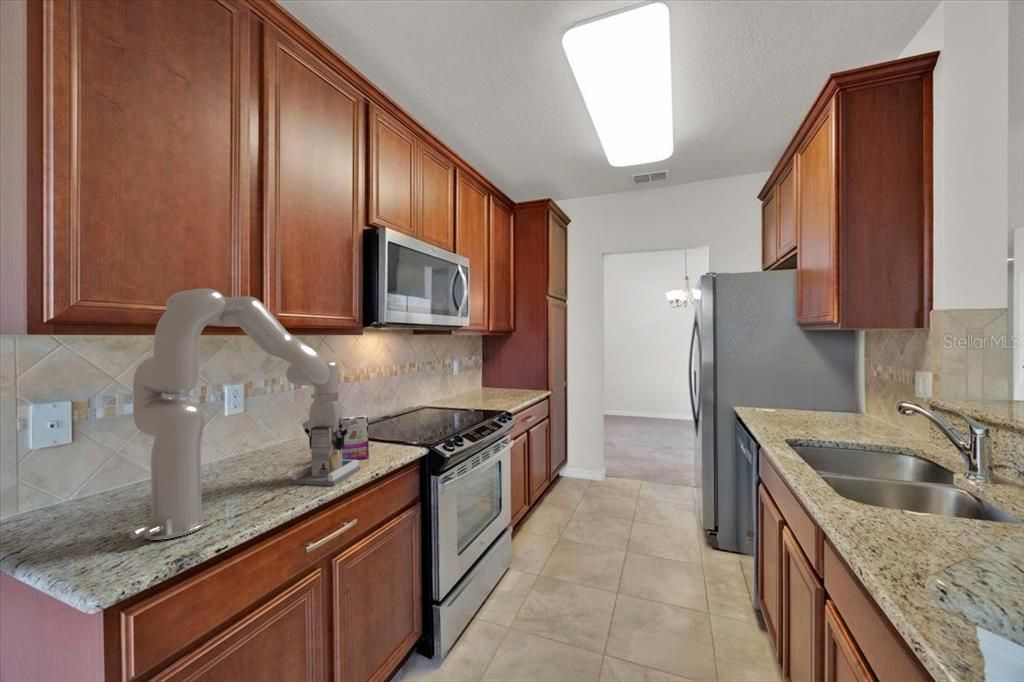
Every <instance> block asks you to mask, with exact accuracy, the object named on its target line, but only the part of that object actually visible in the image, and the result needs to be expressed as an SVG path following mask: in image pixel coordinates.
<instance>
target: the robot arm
mask: <svg viewBox="0 0 1024 682" xmlns="http://www.w3.org/2000/svg"><path fill="white" fill-rule="evenodd" d="M165 306H166V310H165V312H164V313H163V314H162V316H160V318H159V320H158V323H157V325H156V328H155V331H154V332H155V333H154V342H153V343H154V344H153V345H154V346H153V356H151V357H148V358H146V359H144V360H143V361H142V362H141V363H140V364H139V365H137V367H136V370H135V371H134V374H133V383H132V384H133V387H132V390H133V391H132V396H133V397H132V399H133V401H132V403H133V404H132V408H133V410H132V412H133V413H132V414H133V415H132V416H133V422H134V424H135V425H134V426H136V428H137V429H138V430H139V431H140V432H141V433H142V434H145V435H148V436H152V437H154V441H153V444H152V445H153V446H152V449H151V453H150V482H151V484H150V487H151V488H150V489H151V492H150V493H151V495H150V496H151V498H150V499H151V500H150V501H151V517H148V518H146V523H144V525H143V526H140V527H137V528H134V529H132V530H131V531H130V532H129V537H130V539H131V540H135V539H137V538H140V537H143V539H144V538H145V540H146V539H150V540H149V541H151V540H155V539H165V538H171V537H178V536H182V535H185V536H187V535H186V534H188V535H190V534H189V533H191V534H193V533H192V532H194V531H196V530H198V531H200V530H202V529H203V527H204V528H205V527H207V526H208V525H209V524H210V521H211V520H210V519H211V518H210V516H209V514H206V513H203V509H202V507H203V506H202V505H203V504H202V503H203V499H202V441H203V435H204V431H205V423H206V422H205V421H206V420H205V413H204V412H203V410H202V409H201V408H200V406H198V405H197V404H195V403H193V402H192V401H189V400H185V399H181V396H180V395H183V394H187V393H188V392H191V391H193V389H194V388H195V387H197V384H198V382H199V378H200V377H199V375H200V373H199V371H200V370H199V352H200V351H199V349H200V348H199V346H200V337H201V334H202V332H203V330H204V328H205V327H206V326H215V327H239V328H240V329H241V330H242V331H243V332H244V333H245V334H246V336H247V335H248V337H249V338H250V339H251V340H252V341H254V343H255V344H256V345H257V346H258V347H259V348H260V349H261V350H262V351H263V352H264V353H266V354H269V355H271V356H274V357H276V358H280V359H282V360H284V361H286V362H288V363H290V365H289V366H288V368H287V369H286V371H285V376H286V379H287V380H288V381H289V382H290V383H292V384H293V385H297V386H310V387H313V394H311V395H310V398H311V399H313V401H312V402H311V403H310V404H311V405H310V409H309V415H308V420H306V421H304V422H302V424H301V425H302V427H303V429H304V432H305V434H306V435H307V437H308V438H309V442H308V443H309V449H310V450H311V428H313V427H332V433H334V432H335V434H336V435H337V436H338V438H337V450H340V449H342V448H343V447H344V436H346V434H347V433H348V432H349V430H350V427H351V424H350V423H349V422H347V421H345V420H343V417H344V414H343V408H342V403H341V401H340V400H339V364H338V362H337V361H334V360H332V361H331V360H327V361H325V360H324V359H323V358H322V357H321V356H320V355H319V353H317V352H316V351H315V350H314V349H313V348H312V347H311V346H309V345H308V344H306V343H305V342H304V341H302V340H300V339H299V338H297V337H296V336H295V335H293V334H291V333H289V332H288V331H287V329H286V328H285V327H284V326H283V325H282V323H280V321H279V320H277V318H276V317H275V315H274V314H272V313H271V311H270V310H269V309H268V308H267V307H266V306H265V305H264V303H262V301H260V300H259V299H257V298H256V297H253V296H247V295H246V296H245V295H243V296H235V297H234V296H233V297H226V296H225V297H224V295H223V294H222V293H221V292H220V291H218V290H216V289H213V288H207V287H206V288H194V289H189V290H188V289H187V290H181V291H178V292H175V293H172V295H171V296H169V297H168V298H167V301H166V304H165ZM343 425H344V426H345V429H344V430H343V429H342V428H343ZM207 524H208V525H207ZM201 528H202V529H201ZM199 529H200V530H199ZM196 532H197V531H196ZM194 533H195V532H194ZM182 537H183V536H182ZM178 538H179V537H178Z"/></svg>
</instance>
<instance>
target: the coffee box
mask: <svg viewBox="0 0 1024 682" xmlns="http://www.w3.org/2000/svg"><path fill="white" fill-rule="evenodd" d="M337 438H338V436H337V435H336V434H335V432H334V433H332V427H313V428H311V449H310V451H311V464H312V476H313V477H328V475H329V474H330V473H332V472H334V471H336V470H337V469H339V468H341V467H343V461H342V449H340V450H337Z"/></svg>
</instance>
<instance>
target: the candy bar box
mask: <svg viewBox="0 0 1024 682" xmlns="http://www.w3.org/2000/svg"><path fill="white" fill-rule="evenodd" d="M343 420H345V421H347V422H349V423H350V424H351V427H350V430H349V432H348V433H347V434H346V436H344V447H343V448H342V459H348V460H356V459H360V460H364V459H365V458H368V459H369V458H370V457H369V456H370V455H369V454H370V450H369V445H370V444H369V422H368V421H369V416H368V415H367V414H363V415H351V416H343ZM342 429H343V430H344V429H345V426H344V425H343V428H342ZM365 460H366V459H365Z"/></svg>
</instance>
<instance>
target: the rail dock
mask: <svg viewBox="0 0 1024 682" xmlns="http://www.w3.org/2000/svg"><path fill="white" fill-rule="evenodd" d="M342 461H343V467H341V468H339V469H337V470H336V471H334V472H332V473H330V474H329V475H328V477H313V476H312V463H310V464H308V465H306V466H304V467H302V468H299V469H297V470H296V471H294V472H292V473H291V479H290V484H291V485H302V484H306V485H307V486H322V487H323V486H326V487H327V486H328V487H335V486H336V485H338V484H340V483H341V482H343V481H344V480H347V479H348V478H349V477H351V476H353V475H354V474H356V473H358V472H359V471H361V465H360V464H359V463H360V461H359V460H348V459H342ZM358 470H359V471H358ZM355 472H356V473H355ZM353 473H354V474H353ZM352 474H353V475H352Z"/></svg>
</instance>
